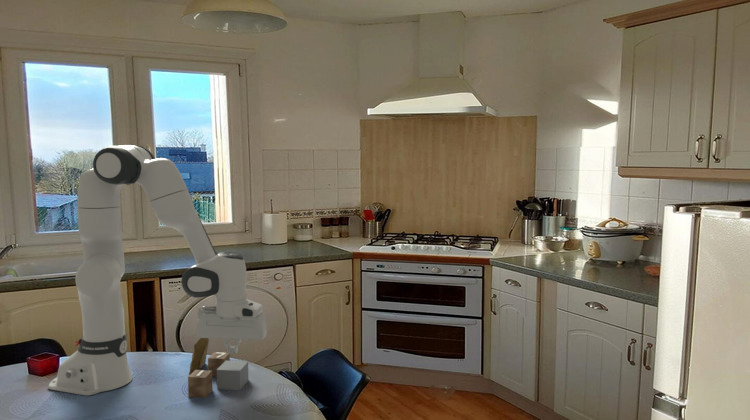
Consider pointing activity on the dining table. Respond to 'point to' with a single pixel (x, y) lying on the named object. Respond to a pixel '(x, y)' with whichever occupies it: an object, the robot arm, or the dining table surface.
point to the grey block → (232, 375)
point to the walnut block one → (200, 383)
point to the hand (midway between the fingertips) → (232, 352)
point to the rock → (199, 354)
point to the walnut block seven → (217, 361)
